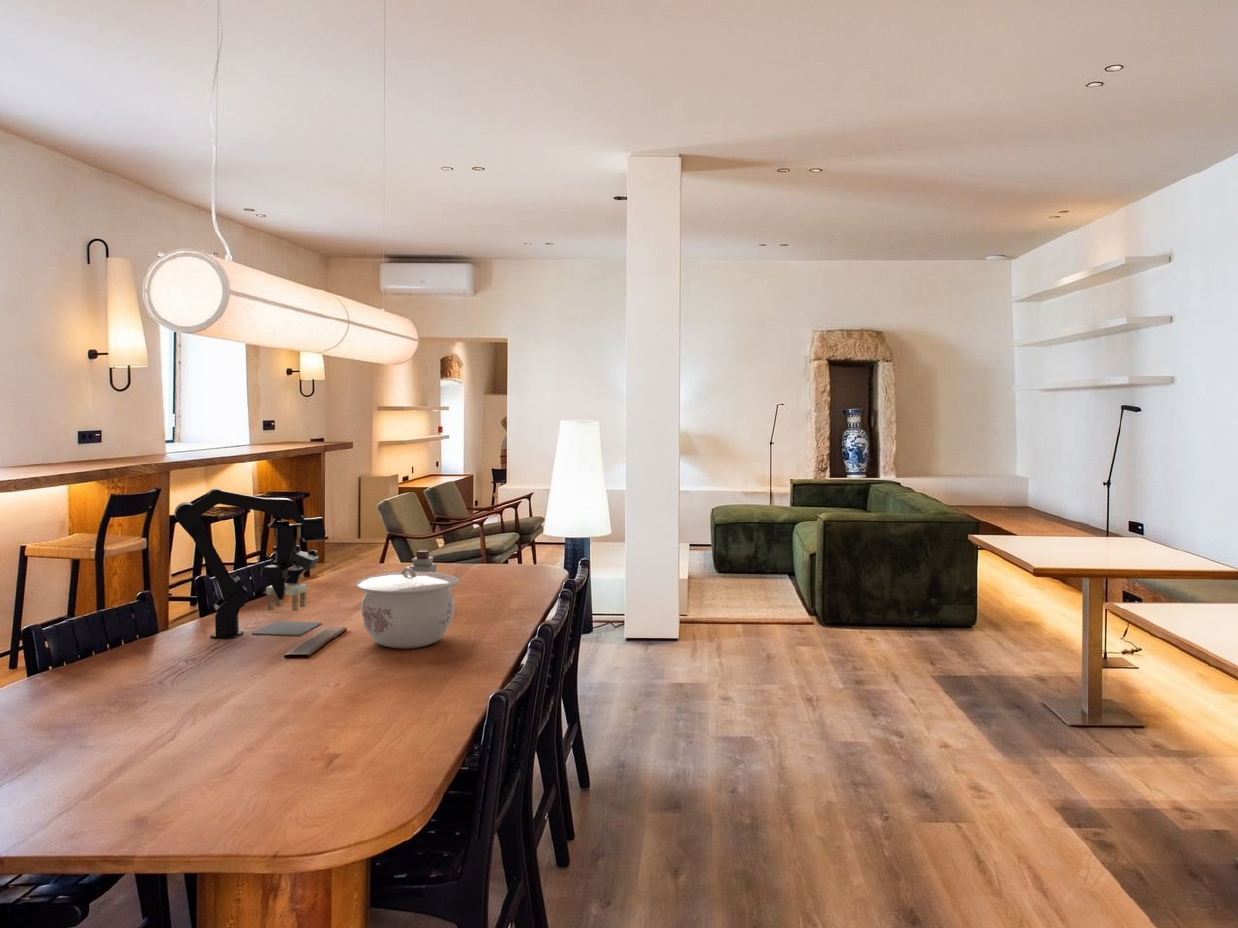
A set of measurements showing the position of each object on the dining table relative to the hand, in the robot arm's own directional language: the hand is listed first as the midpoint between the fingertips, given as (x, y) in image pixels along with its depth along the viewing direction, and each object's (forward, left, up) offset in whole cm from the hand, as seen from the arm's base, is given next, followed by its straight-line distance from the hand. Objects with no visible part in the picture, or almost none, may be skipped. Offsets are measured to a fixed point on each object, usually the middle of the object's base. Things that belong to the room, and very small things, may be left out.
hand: (286, 597), depth 245 cm
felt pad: (0, 0, -9) cm, 9 cm away
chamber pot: (-10, -39, -10) cm, 41 cm away
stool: (0, 0, -3) cm, 3 cm away
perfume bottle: (+33, -29, -10) cm, 45 cm away
